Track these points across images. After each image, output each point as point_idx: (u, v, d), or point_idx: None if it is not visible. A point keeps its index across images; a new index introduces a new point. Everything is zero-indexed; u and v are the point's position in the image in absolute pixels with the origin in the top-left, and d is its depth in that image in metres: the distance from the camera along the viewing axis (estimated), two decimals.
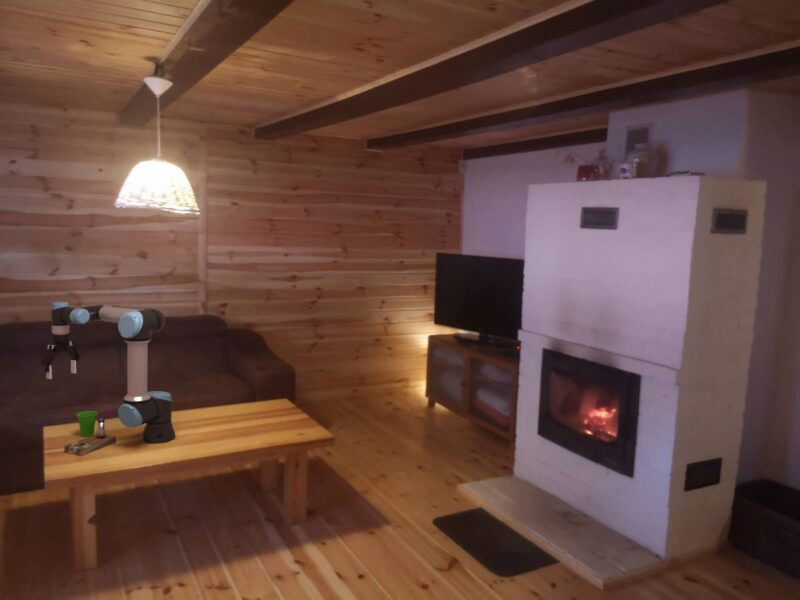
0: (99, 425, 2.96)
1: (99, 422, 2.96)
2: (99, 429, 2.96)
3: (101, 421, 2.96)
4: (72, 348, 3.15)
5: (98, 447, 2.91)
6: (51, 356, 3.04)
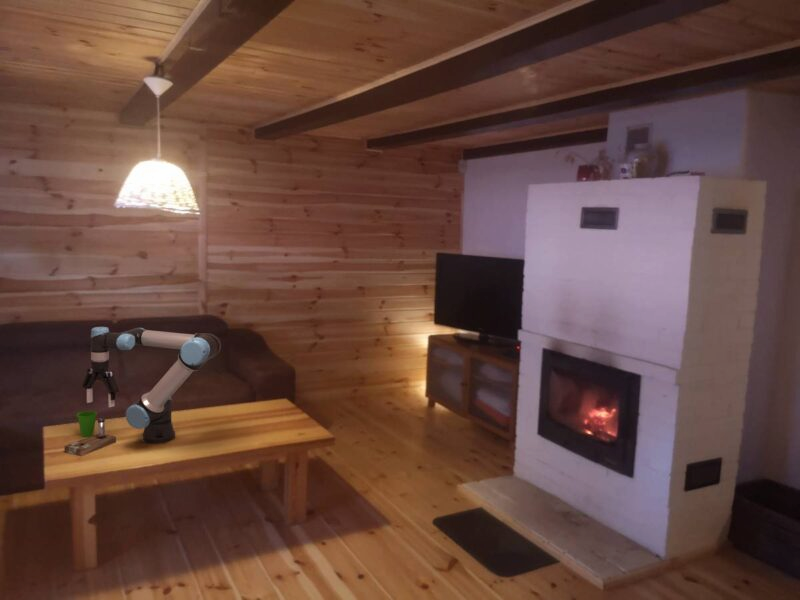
0: (99, 425, 2.96)
1: (99, 422, 2.96)
2: (99, 429, 2.96)
3: (101, 421, 2.96)
4: None
5: (98, 447, 2.91)
6: None
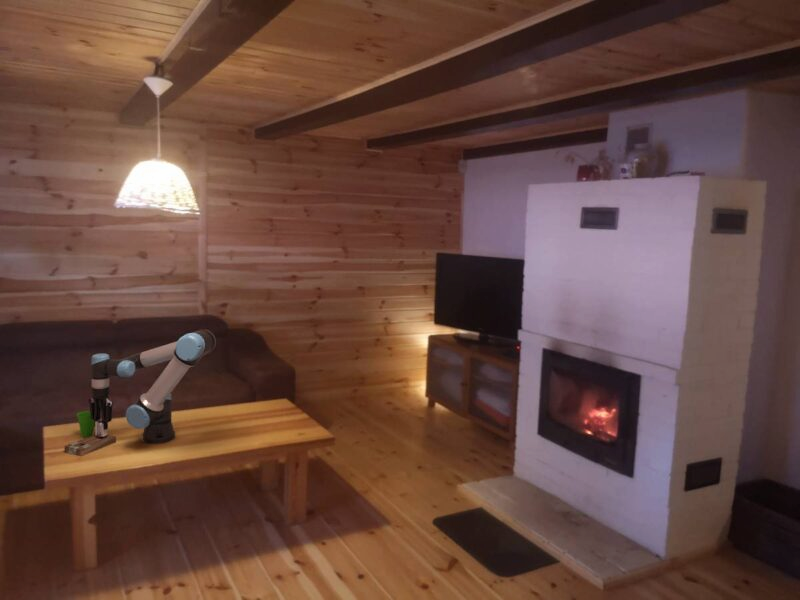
0: (99, 425, 2.96)
1: (99, 422, 2.96)
2: (99, 429, 2.96)
3: (101, 421, 2.96)
4: None
5: (98, 447, 2.91)
6: None
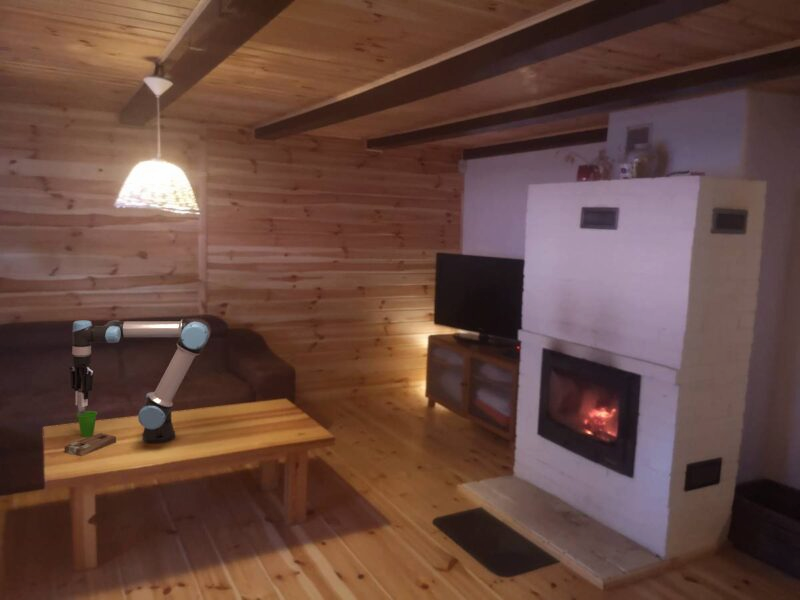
0: (79, 395, 2.85)
1: (79, 391, 2.85)
2: (79, 399, 2.85)
3: (81, 390, 2.85)
4: None
5: (98, 447, 2.91)
6: None
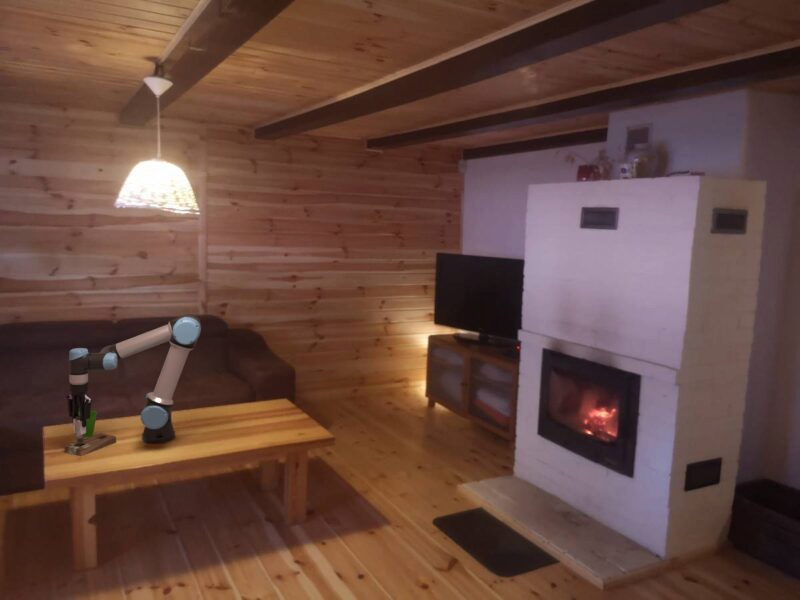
0: (77, 422, 2.85)
1: (77, 419, 2.84)
2: (77, 427, 2.85)
3: (79, 418, 2.85)
4: None
5: (98, 447, 2.91)
6: None
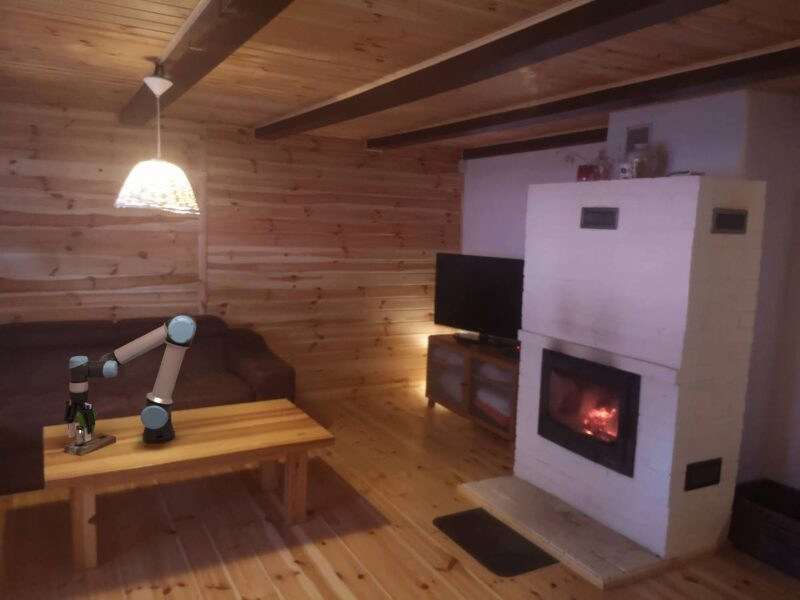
0: (78, 432, 2.85)
1: (78, 429, 2.85)
2: (78, 437, 2.85)
3: (80, 428, 2.85)
4: None
5: (98, 447, 2.91)
6: None
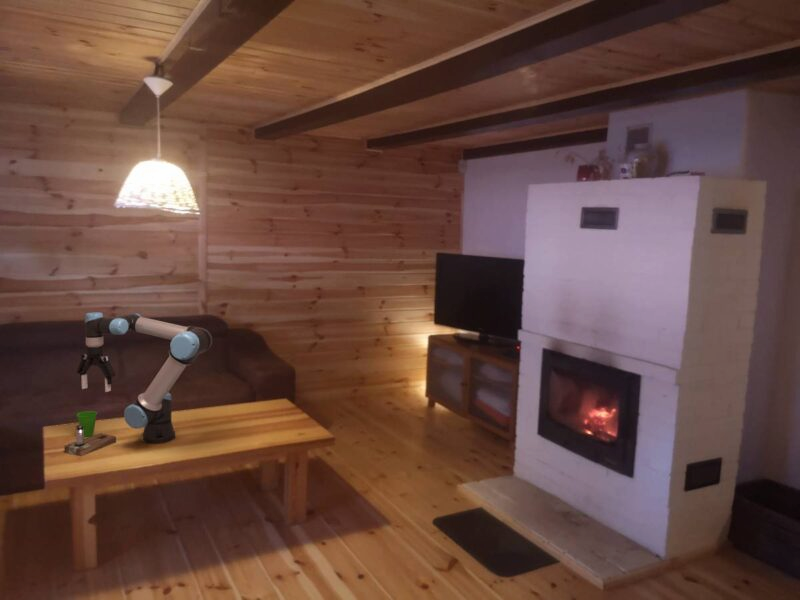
0: (78, 432, 2.85)
1: (78, 429, 2.85)
2: (78, 437, 2.85)
3: (80, 428, 2.85)
4: None
5: (98, 447, 2.91)
6: None
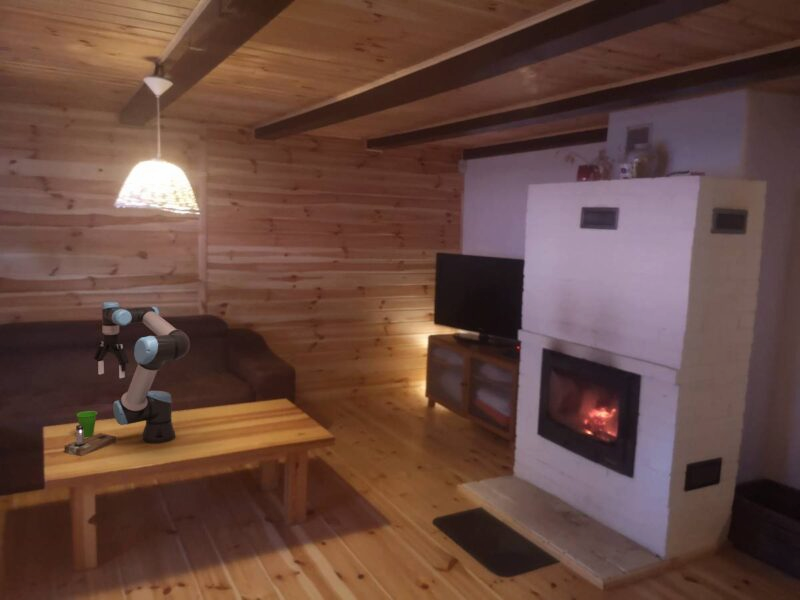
0: (78, 432, 2.85)
1: (78, 429, 2.85)
2: (78, 437, 2.85)
3: (80, 428, 2.85)
4: None
5: (98, 447, 2.91)
6: None
